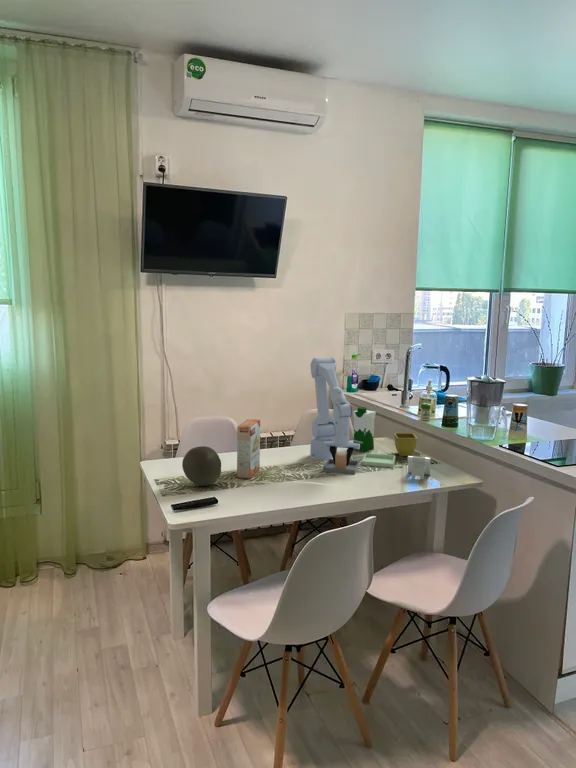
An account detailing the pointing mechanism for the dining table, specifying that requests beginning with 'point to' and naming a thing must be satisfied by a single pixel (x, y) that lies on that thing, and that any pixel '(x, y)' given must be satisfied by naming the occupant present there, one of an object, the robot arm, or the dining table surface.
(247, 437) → the cracker box
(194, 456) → the dark olive ball
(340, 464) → the terracotta block
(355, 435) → the milk carton
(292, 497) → the dining table surface
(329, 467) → the charcoal tray
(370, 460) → the green tray
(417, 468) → the portable electronic device stand
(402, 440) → the flower pot
